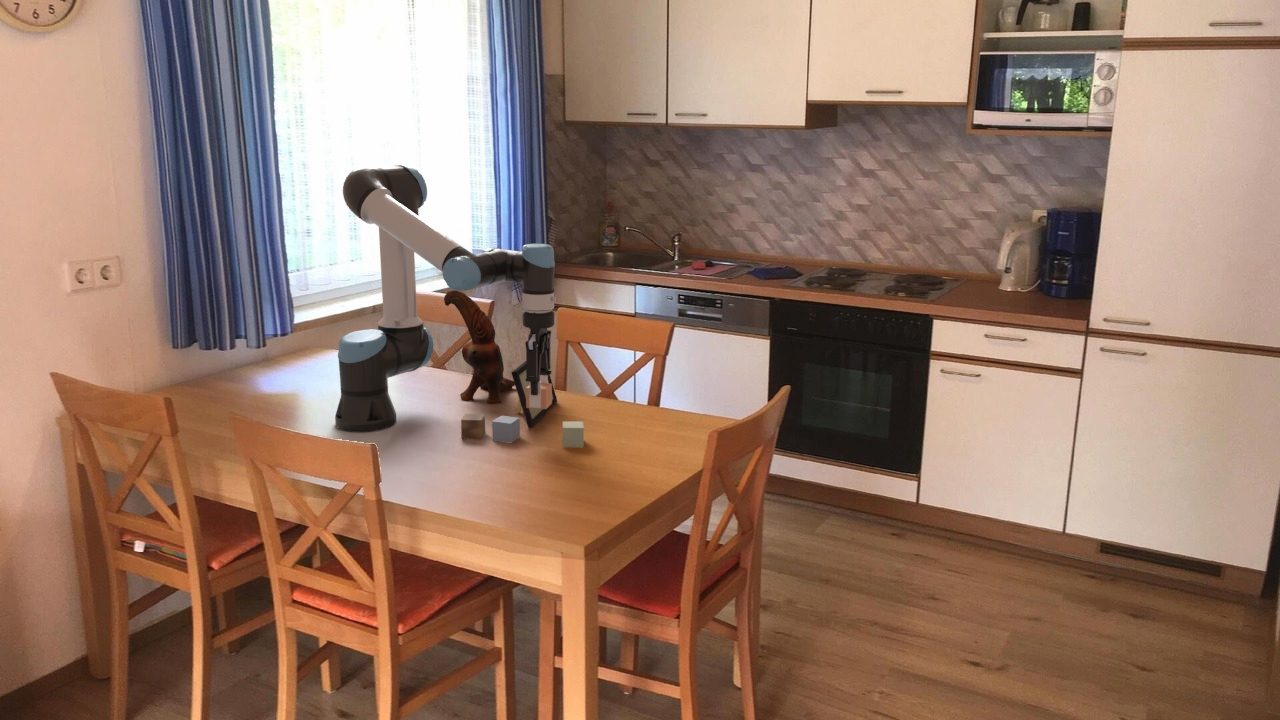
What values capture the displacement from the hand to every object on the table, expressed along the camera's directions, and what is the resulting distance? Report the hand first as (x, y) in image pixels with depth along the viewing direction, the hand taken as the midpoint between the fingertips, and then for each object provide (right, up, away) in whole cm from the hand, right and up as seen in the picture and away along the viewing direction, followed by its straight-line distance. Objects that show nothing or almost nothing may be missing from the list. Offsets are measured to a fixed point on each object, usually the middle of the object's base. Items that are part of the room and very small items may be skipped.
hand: (538, 403), depth 242 cm
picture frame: (-5, -4, +24) cm, 25 cm away
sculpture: (-19, +1, +41) cm, 45 cm away
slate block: (-8, -9, +4) cm, 13 cm away
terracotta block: (0, 0, 0) cm, 0 cm away
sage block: (+8, -10, +1) cm, 13 cm away
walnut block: (-17, -8, +5) cm, 19 cm away
